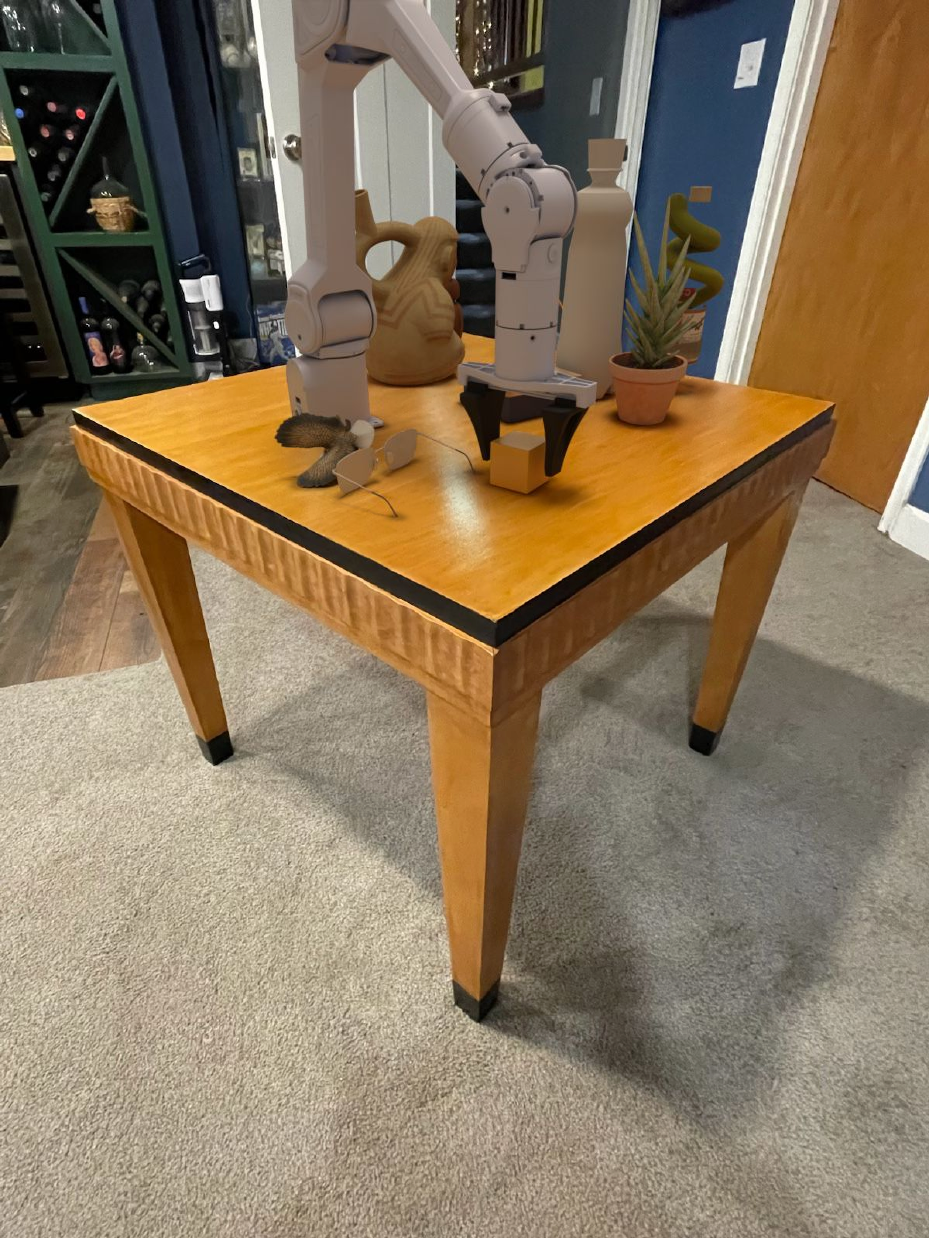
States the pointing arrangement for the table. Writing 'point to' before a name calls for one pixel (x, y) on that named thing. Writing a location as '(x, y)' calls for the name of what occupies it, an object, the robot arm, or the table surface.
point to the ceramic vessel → (411, 299)
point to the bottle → (596, 270)
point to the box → (525, 403)
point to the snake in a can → (692, 267)
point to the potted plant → (652, 340)
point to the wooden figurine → (456, 305)
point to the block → (518, 461)
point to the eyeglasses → (361, 462)
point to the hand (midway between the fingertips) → (520, 465)
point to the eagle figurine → (324, 442)
